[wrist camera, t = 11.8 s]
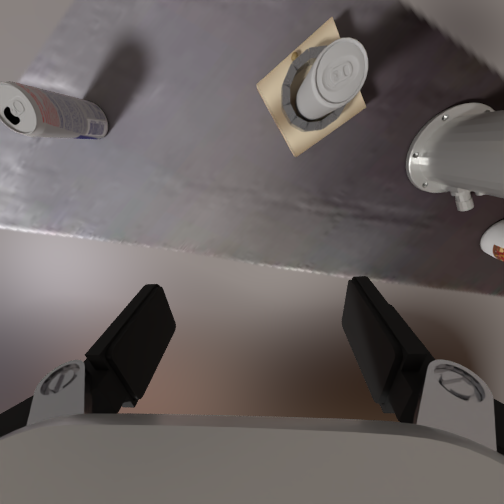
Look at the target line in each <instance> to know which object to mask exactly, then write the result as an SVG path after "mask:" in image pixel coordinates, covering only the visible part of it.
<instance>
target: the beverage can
mask: <svg viewBox="0 0 504 504" xmlns="http://www.w3.org/2000/svg"><path fill="white" fill-rule="evenodd" d="M367 72H368V57H367V53H366V50H365V48H364V47H363V45H362V44H361V43H360V42H359V41H357V40H356V39H353V38H350V37H349V38H340V39H338V40H335V41H334V42H332V43H331V44H329V45H328V46H327V47H325V48H324V50H323V51H322V52H321V53H320V54H319V55H318V57H317V59H316V61H315V62H314V64H313V66H312V67H311V69H310V71H309V72H308V74H307V76H306V78H305V79H304V81H303V83H302V84H301V86H300V88H299V90H298V92H297V95H296V109H297V111H298V113H299V115H300V116H301V117H302V118H304V119H306V120H316V119H318V118H320V117H322V116H324V115H326V114H328V113H330V112H332V111H334V110H336V109H338V108H340V107H342V106H344V105H345V104H347V103H349V102H350V101H351V100H352V99H353V98H354V97H355V96H356V95H357V93H358V92H359V91H360V89H361V88H362V86H363V84H364V82H365V79H366V77H367Z"/></svg>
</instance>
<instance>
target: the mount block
mask: <svg viewBox="0 0 504 504" xmlns="http://www.w3.org/2000/svg"><path fill="white" fill-rule="evenodd" d="M338 39H340V36H339V33H338V31H337V28H336V25H335V23H334V20H333V17H331V18H330V19H329V20H328V21H327V22H325V23H324V24H323V25H322V26H321V27H320V28H319V29H318V30H317V31H315V32H314V33H313V34H312V35H311V36H310V37H309V38H308V39H307V40H305V41H304V42H303V43H302V44H301V45H300V46H299V47H298V48H297V49H295V50H294V51H293V52H292V53H291V54H290V55H289V56H288V57H287V58H285V59H284V60H283V61H282V62H281V63H280V64H279V65H278V66H277V67H275V68H274V69H273V70H272V71H271V72H270V73H269V74H268V75H267V76H265V77H264V78H263V79H262V80H261V81H260V82H259V83H258V84H257V90H258V92H259V93H260V95H261V97H262V99H263V101H264V102H265V104H266V106H267V108H268V110H269V112H270V113H271V115H272V117H273V119H274V121H275V123H276V124H277V126H278V128H279V130H280V132H281V133H282V135H283V137H284V139H285V141H286V143H287V144H288V146H289V148H290V150H291V152H292V153H293V155H294V156H295V157H297V156H298V155H300V154H301V153H303V152H304V151H306V150H307V149H308V148H310V147H311V146H313V145H314V144H315V143H317V142H318V141H320V140H321V139H322V138H324V137H325V136H327V135H328V134H329V133H331V132H332V131H334V130H335V129H336V128H338V127H339V126H341V125H342V124H343V123H345V122H346V121H348V120H349V119H350V118H352V117H353V116H355V115H356V114H357V113H359V112H360V111H362V110H363V109H365V108H366V105H365V103H364V100H363V97H362V95H361V92H360V91H359V92H358V93H357V95H356V96H355V97H354V98H353V99H352V100H351V101H350V102H349V103H347V104H346V106H345V107H344V109H343V111H342V113H341V114H340V116H339V117H338V119H336V120H335V121H334V122H332V123H331V124H330V125H328V126H327V127H325V128H324V129H322V130H319V131H310V132H301V131H299V130H298V129H296V128H294V127H292V126H291V125H290V124H289V123H288V121H287V120H286V118H285V116H284V114H283V112H282V109H281V87H282V84H283V81H284V79H285V77H286V74H287V72H288V69H289V67H290V65H291V64H292V62H293V61H294V60H295V59H296V58H297V57H298V56H300V55H301V54H302V53H303V52H304V51H305V50H306V49H309V48H311V47H318V46H325V45H327V46H328V45H329V44H331V43H332V42H334V41H335V40H338ZM312 66H313V65H310V66H306V67H305V68H303V69H302V70H301V71H300V72H299V73H298V74H296V75H295V76H294V79H293V81H292V83H291V86H290V104H291V106H292V108H293V110H294V112H295V114H296V116H298V117H299V118H301V119H303V120H305V121H306V122H317V121H320V120H321V119H323V118H324V117H326V116H327V115H328V114H329V113H328V114H326V115H324V116H322V117H320V118H318V119H316V120H306V119H304V118H302V117H301V116H300V115H299V113H298V111H297V109H296V95H297V92H298V90H299V88H300V86H301V84H302V83H303V81H304V79H305V78H306V76H307V74H308V72H309V71H310V69H311V67H312Z"/></svg>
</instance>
